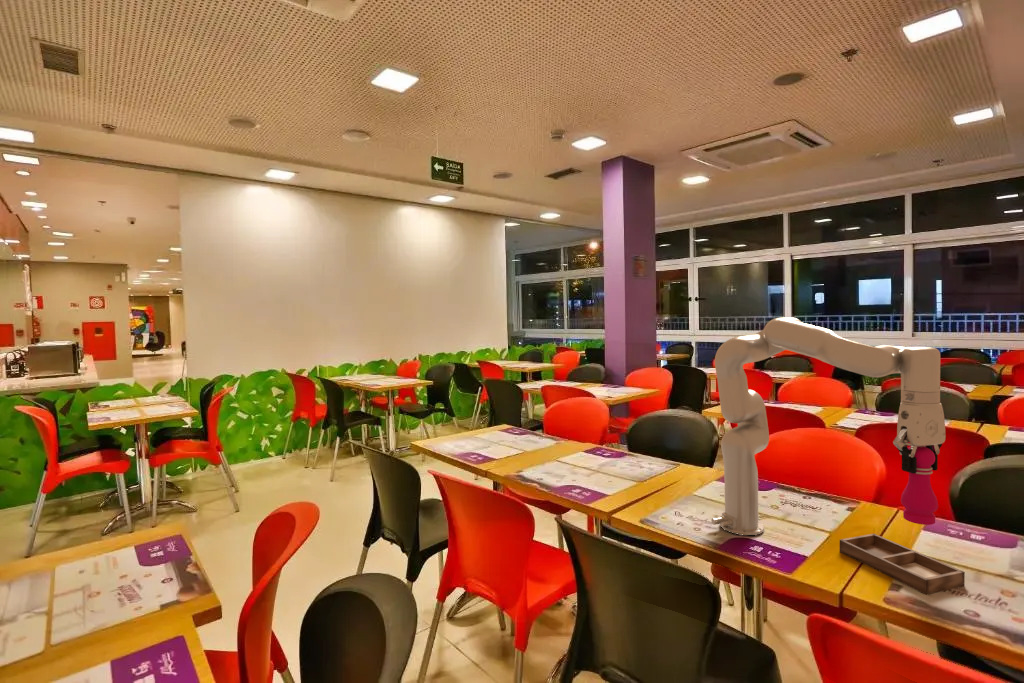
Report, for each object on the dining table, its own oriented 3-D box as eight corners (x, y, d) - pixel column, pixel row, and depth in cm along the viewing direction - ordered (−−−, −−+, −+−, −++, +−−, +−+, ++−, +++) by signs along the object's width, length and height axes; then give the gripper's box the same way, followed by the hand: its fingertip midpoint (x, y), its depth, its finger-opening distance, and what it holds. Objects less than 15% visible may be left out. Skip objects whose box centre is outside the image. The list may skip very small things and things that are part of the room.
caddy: (926, 594, 122) (926, 580, 122) (839, 552, 145) (839, 539, 145) (964, 586, 125) (964, 571, 125) (873, 545, 148) (873, 533, 148)
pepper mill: (945, 525, 125) (946, 443, 124) (915, 526, 125) (915, 444, 124) (922, 514, 132) (923, 436, 131) (893, 514, 133) (894, 436, 132)
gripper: (908, 402, 122) (907, 479, 122) (963, 397, 126) (962, 471, 127) (877, 397, 129) (877, 470, 130) (931, 393, 133) (930, 462, 134)
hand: (919, 469), depth 128 cm, fingers closed on pepper mill, 6 cm apart
